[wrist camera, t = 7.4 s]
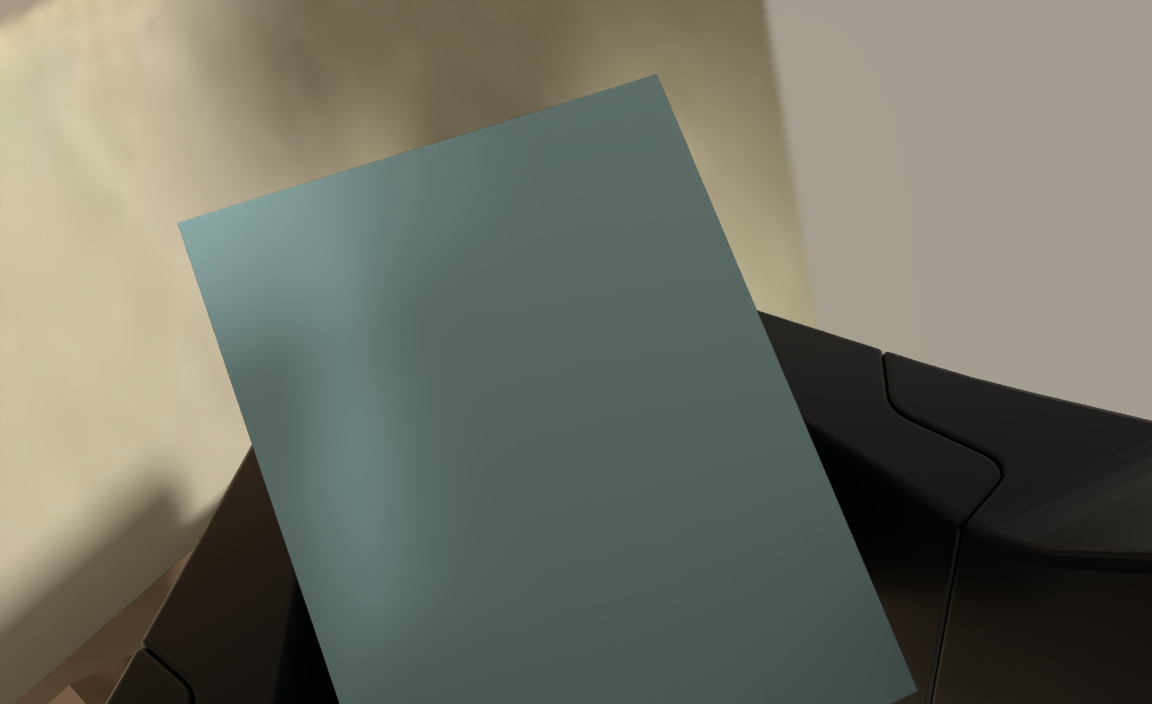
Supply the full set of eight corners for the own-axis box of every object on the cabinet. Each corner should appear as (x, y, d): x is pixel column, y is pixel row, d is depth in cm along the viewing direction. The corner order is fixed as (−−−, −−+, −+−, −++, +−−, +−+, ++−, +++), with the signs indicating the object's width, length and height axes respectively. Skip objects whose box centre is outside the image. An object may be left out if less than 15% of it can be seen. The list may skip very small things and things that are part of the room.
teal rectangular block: (613, 558, 15) (919, 690, 5) (457, 623, 14) (416, 935, 4) (535, 355, 15) (656, 73, 5) (381, 411, 15) (177, 223, 5)
